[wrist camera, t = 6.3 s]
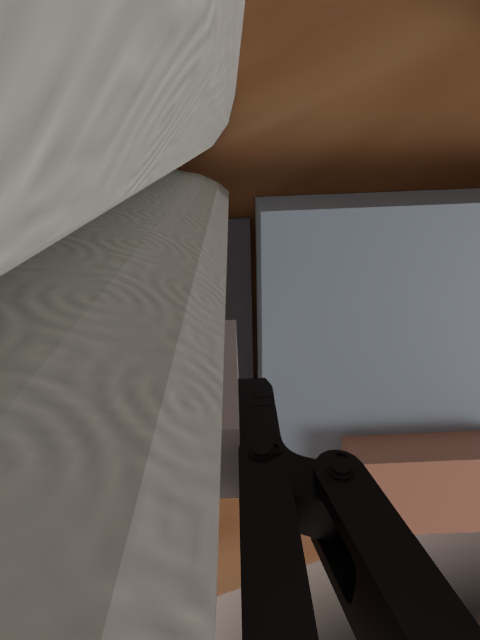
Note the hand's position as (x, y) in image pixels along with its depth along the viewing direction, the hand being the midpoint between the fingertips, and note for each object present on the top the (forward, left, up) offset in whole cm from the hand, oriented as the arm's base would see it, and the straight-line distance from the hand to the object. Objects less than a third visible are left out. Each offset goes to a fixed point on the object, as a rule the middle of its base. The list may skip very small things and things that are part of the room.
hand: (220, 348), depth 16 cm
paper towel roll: (+2, -10, -6) cm, 11 cm away
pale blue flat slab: (-10, +4, -6) cm, 12 cm away
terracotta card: (-11, +10, -2) cm, 15 cm away
